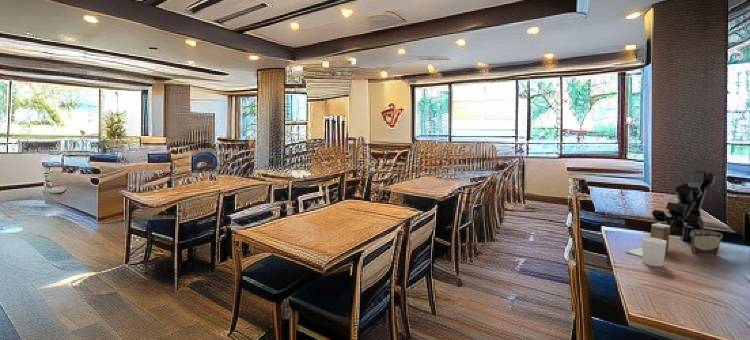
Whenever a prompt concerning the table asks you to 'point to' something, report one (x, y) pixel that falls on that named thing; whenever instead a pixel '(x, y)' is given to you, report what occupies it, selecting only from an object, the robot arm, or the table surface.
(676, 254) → the table surface
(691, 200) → the robot arm
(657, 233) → the walnut block
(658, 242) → the white cup
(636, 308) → the table surface
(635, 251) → the rubber mat
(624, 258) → the table surface
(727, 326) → the table surface
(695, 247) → the food container
